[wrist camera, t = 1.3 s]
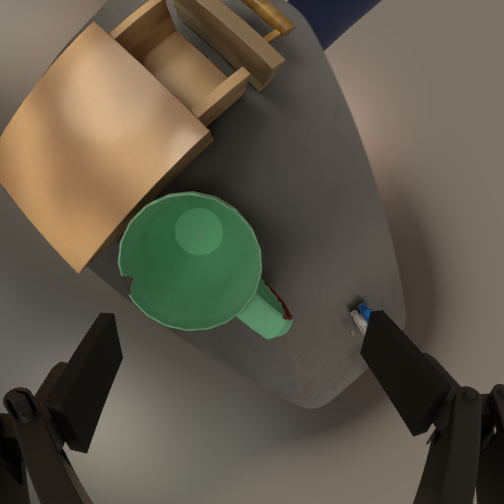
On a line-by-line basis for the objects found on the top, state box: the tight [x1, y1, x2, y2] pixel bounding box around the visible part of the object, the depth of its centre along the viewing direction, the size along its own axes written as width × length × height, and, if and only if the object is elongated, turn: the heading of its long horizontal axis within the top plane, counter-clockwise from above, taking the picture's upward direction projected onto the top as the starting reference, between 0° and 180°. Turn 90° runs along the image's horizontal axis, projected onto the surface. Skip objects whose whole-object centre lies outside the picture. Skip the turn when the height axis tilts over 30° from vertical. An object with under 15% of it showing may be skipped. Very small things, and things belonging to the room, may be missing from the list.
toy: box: [350, 302, 373, 337], centre depth 31 cm, size 5×4×5 cm
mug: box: [118, 191, 292, 339], centre depth 25 cm, size 15×10×10 cm
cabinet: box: [0, 22, 214, 273], centre depth 21 cm, size 14×13×10 cm
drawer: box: [109, 0, 295, 127], centre depth 20 cm, size 17×11×8 cm
